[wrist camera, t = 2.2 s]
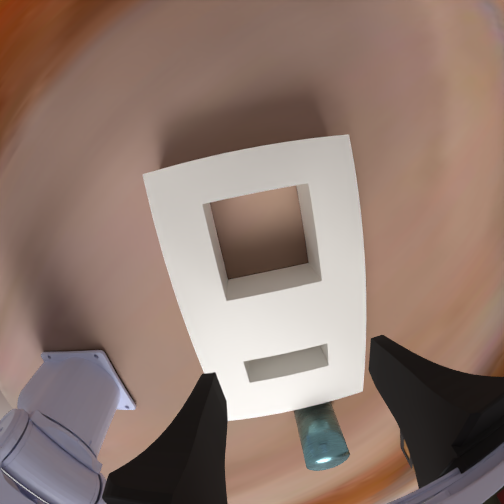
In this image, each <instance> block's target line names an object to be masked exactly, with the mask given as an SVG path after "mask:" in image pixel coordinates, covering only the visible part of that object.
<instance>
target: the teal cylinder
mask: <svg viewBox="0 0 504 504" xmlns="http://www.w3.org/2000/svg"><path fill="white" fill-rule="evenodd" d="M294 414H295V419H296V423H297V427H298V432H299V436H300V441H301V445H302V449H303V454H304V458H305V463H306V467H307V468H308V469H309V470H314V471H319V470H326V469H330V468H333V467H335V466H338V465H340V464H341V463H343V462H344V461H346V460H347V459H348V457H349V455H350V453H349V450H348V448H347V445H346V442H345V439H344V437H343V434H342V431H341V428H340V426H339V423H338V420H337V418H336V415H335V412H334V410H333V407H332V404H331V402H330V401H329V402H326V403H322V404H318V405H314V406H310V407H306V408H302V409H297V410H295V411H294Z"/></svg>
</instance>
